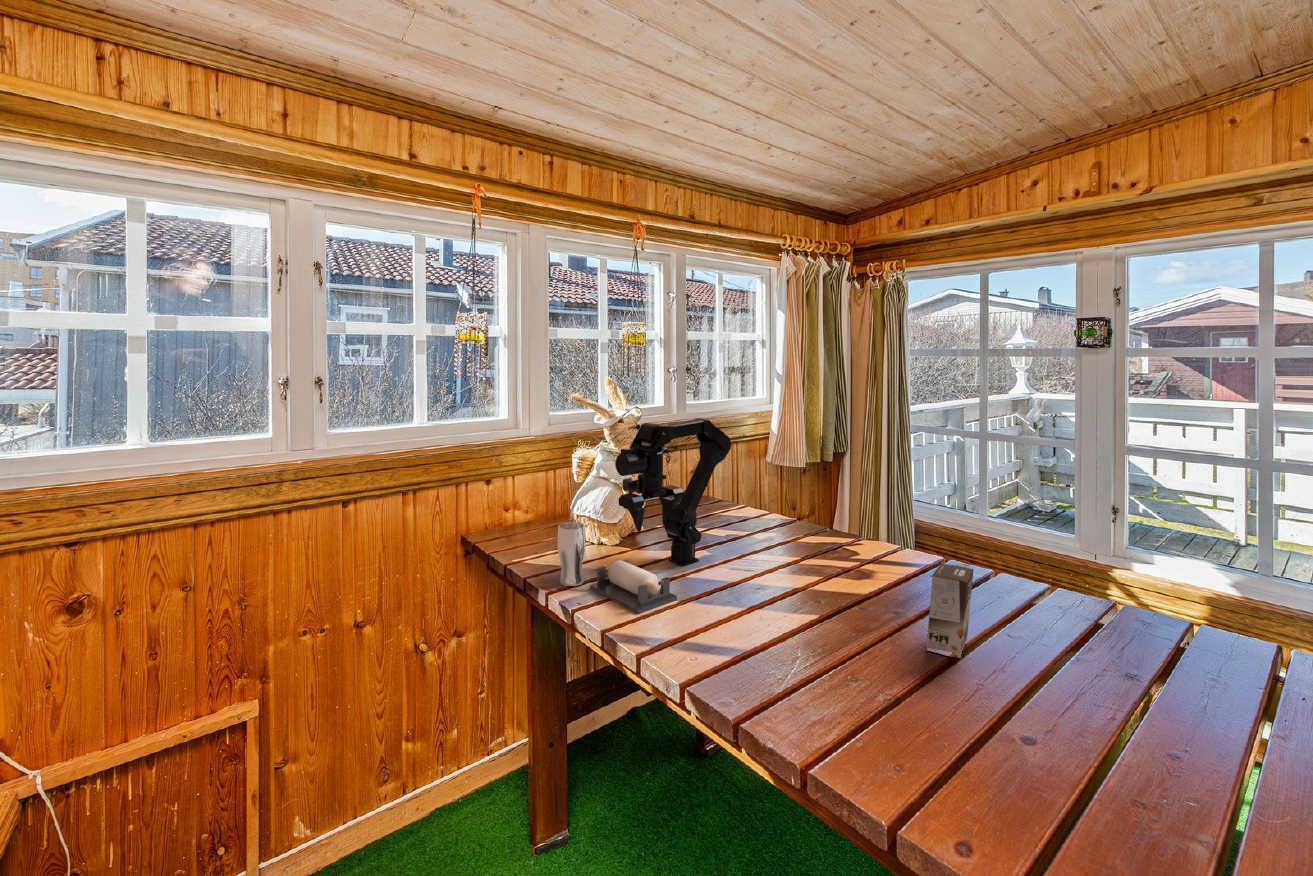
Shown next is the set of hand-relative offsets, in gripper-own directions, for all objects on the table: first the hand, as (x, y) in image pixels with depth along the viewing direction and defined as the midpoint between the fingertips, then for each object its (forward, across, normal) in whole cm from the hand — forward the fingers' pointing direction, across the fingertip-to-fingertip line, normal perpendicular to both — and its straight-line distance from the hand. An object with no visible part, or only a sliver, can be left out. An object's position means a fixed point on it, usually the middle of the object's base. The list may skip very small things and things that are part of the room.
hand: (651, 528), depth 162 cm
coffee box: (+12, -18, +71) cm, 74 cm away
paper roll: (+11, +14, +9) cm, 20 cm away
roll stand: (+12, +14, +9) cm, 20 cm away
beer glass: (+12, +21, -7) cm, 25 cm away
